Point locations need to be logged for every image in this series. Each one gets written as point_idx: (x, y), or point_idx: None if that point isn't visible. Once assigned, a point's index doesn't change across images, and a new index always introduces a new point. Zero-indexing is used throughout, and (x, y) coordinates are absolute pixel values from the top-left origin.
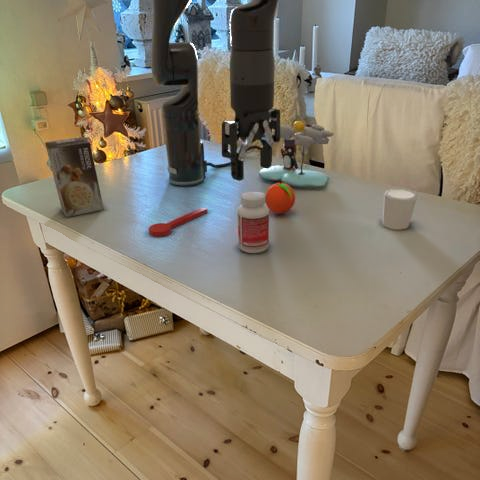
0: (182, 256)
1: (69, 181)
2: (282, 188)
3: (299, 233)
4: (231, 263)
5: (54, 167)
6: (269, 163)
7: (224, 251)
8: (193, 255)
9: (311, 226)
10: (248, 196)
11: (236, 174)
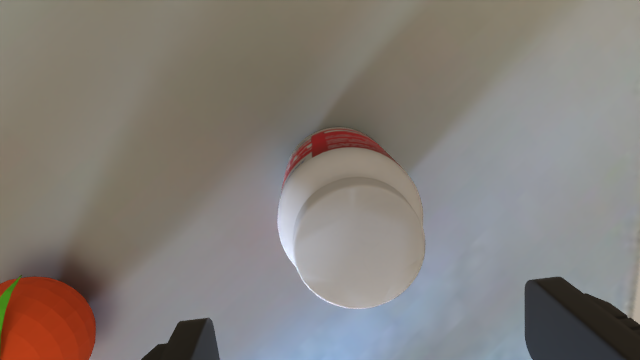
0: None
1: None
2: (1, 350)
3: (134, 137)
4: (467, 149)
5: None
6: (199, 334)
7: None
8: (502, 272)
9: (54, 144)
10: (384, 260)
11: (618, 312)
